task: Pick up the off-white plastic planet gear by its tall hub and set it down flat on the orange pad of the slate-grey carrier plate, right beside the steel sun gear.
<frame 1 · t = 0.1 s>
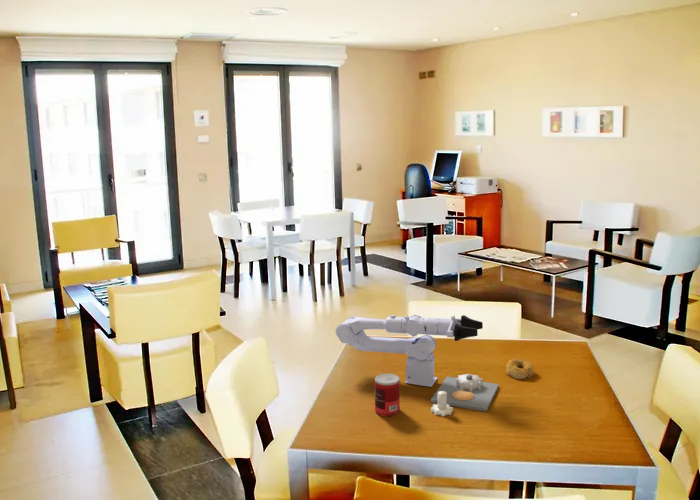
hand: (479, 328, 213), 22 cm above the table, tool horizontal, fingers open, 7 cm apart
planet gear: (441, 411, 202), on the table
carrier plate: (465, 394, 214), on the table
canned food: (387, 411, 203), on the table
bagel: (519, 375, 230), on the table
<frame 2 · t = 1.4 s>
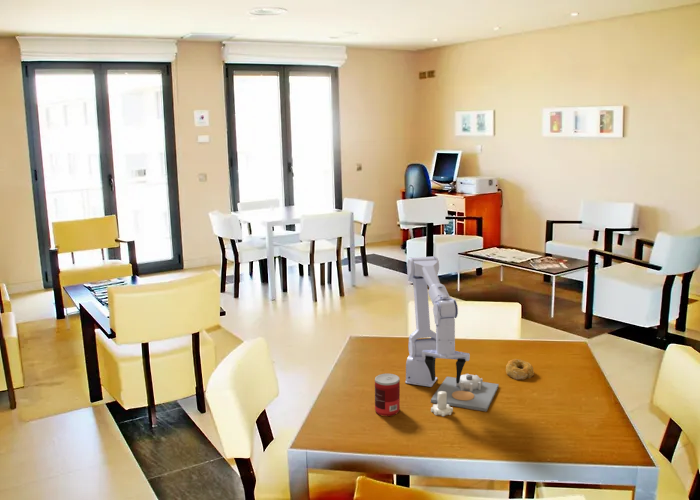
hand: (445, 381, 200), 10 cm above the table, tool pointing down, fingers open, 7 cm apart
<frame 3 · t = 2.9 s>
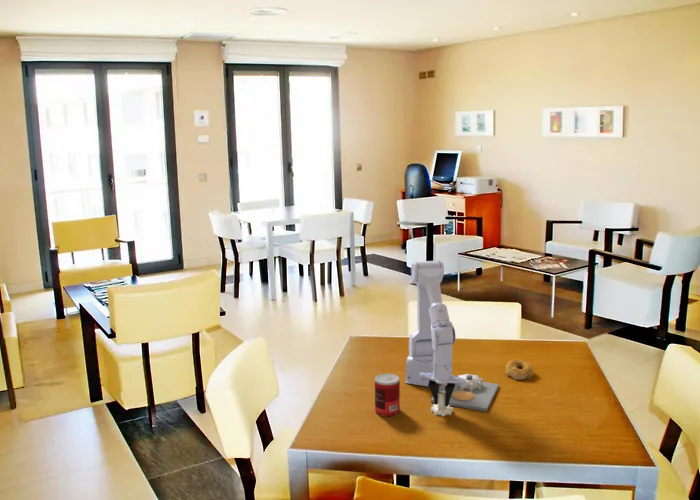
hand: (441, 404, 202), 2 cm above the table, tool pointing down, fingers closed on planet gear, 3 cm apart
planet gear: (441, 411, 202), on the table, touching gripper
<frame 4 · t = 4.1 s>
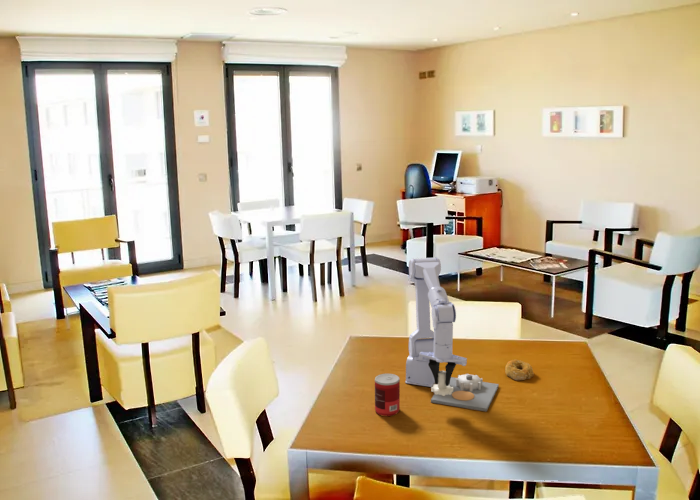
hand: (442, 383, 200), 9 cm above the table, tool pointing down, fingers closed on planet gear, 3 cm apart
planet gear: (442, 391, 201), point 7 cm above the table, touching gripper
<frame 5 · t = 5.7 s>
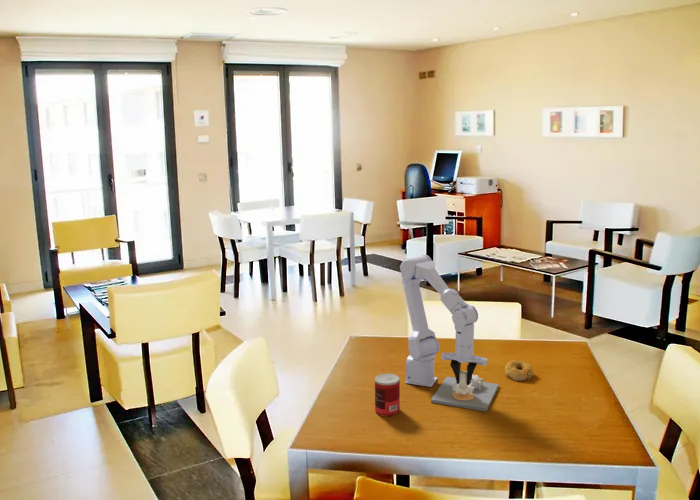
hand: (463, 383, 210), 5 cm above the table, tool pointing down, fingers closed on planet gear, 3 cm apart
planet gear: (463, 390, 210), point 3 cm above the table, touching gripper
when the fingers open (5 cm above the table, at t = 6.5 s): planet gear drops 1 cm, resting on carrier plate.
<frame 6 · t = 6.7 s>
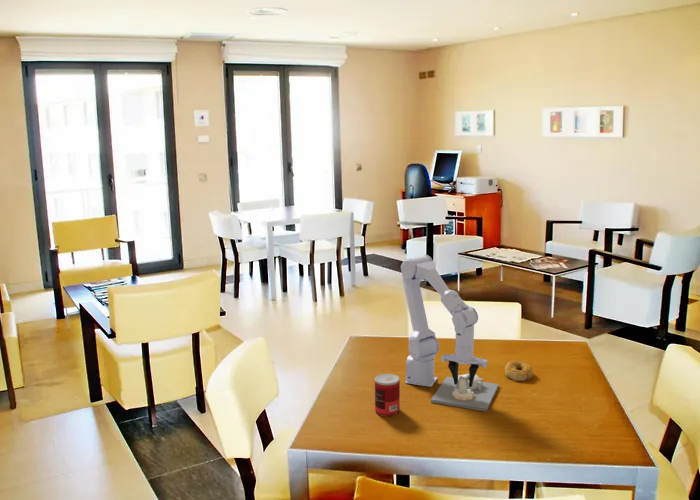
hand: (463, 384, 210), 5 cm above the table, tool pointing down, fingers open, 4 cm apart
planet gear: (462, 395, 211), point 1 cm above the table, touching carrier plate
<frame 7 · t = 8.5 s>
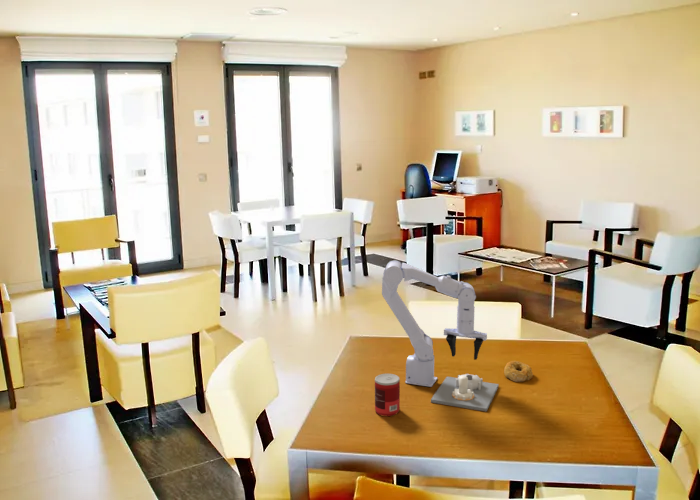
hand: (464, 357, 221), 9 cm above the table, tool pointing down, fingers open, 7 cm apart
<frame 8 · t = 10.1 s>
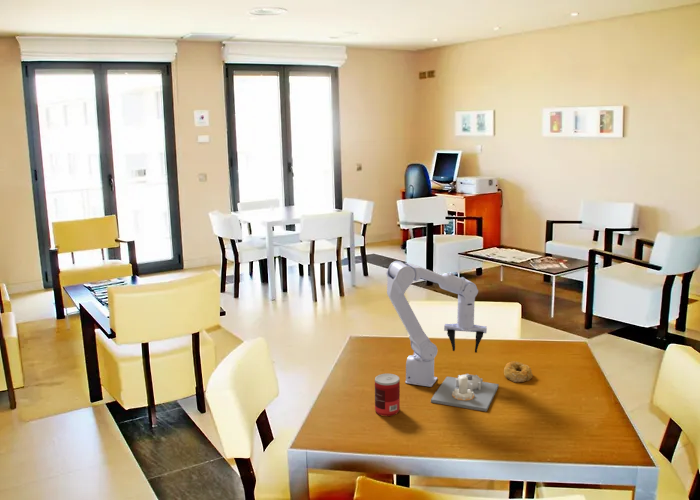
hand: (464, 350, 227), 9 cm above the table, tool pointing down, fingers open, 7 cm apart
at the end: planet gear 0.3 cm from the target spot, point 1.2 cm above the table; planet gear tilted 0°; the gripper is holding nothing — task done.
